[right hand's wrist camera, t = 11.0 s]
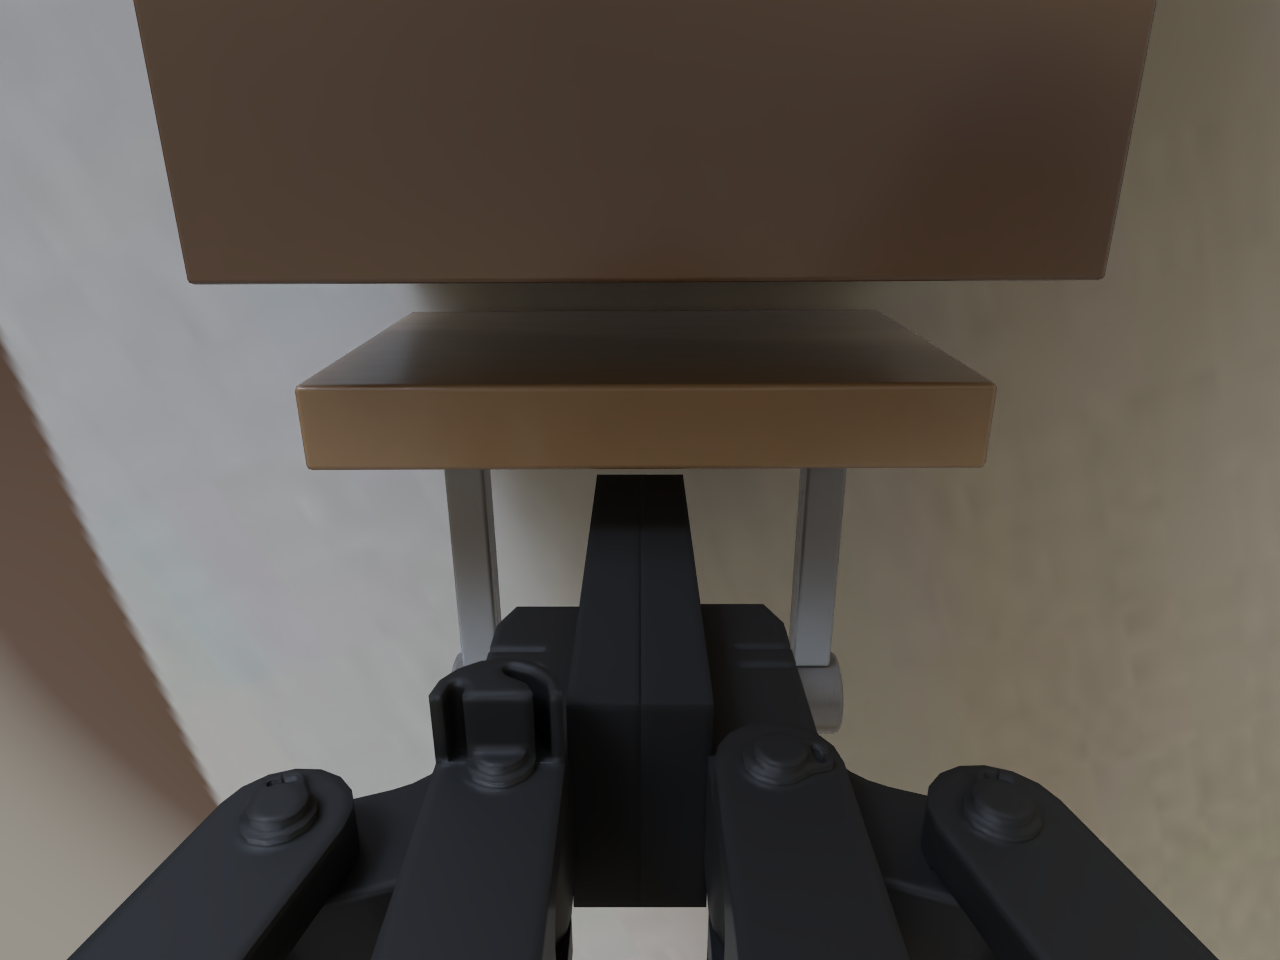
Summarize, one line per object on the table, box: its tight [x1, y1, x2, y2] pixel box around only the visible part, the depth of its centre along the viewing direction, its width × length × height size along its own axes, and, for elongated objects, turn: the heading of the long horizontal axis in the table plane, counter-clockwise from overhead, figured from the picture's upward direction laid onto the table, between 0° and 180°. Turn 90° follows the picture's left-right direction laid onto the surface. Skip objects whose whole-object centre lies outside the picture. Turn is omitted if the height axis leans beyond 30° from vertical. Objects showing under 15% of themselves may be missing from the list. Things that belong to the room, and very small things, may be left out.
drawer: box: [295, 310, 996, 734], centre depth 12 cm, size 23×9×6 cm, turn 0°
